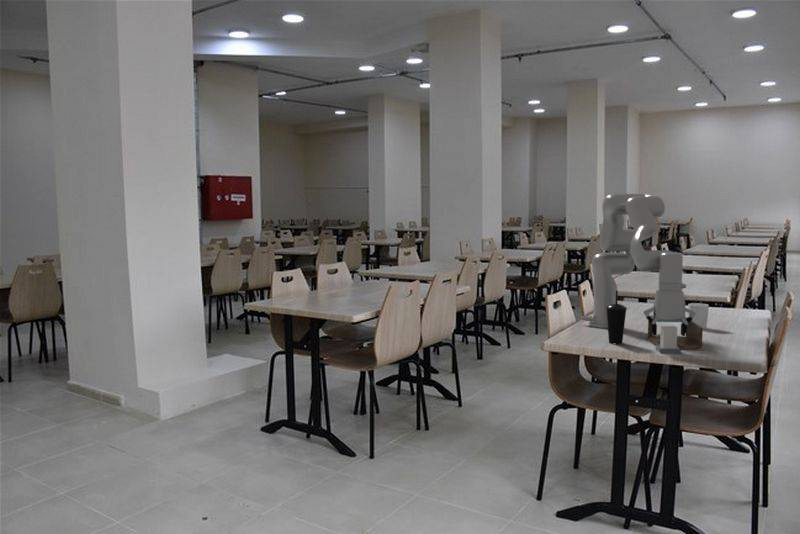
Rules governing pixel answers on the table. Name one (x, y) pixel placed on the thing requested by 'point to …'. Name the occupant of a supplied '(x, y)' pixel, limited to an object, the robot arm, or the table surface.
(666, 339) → the block
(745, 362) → the table surface
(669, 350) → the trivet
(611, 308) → the drinking cup
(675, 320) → the cover
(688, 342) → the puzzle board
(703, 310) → the white cup
